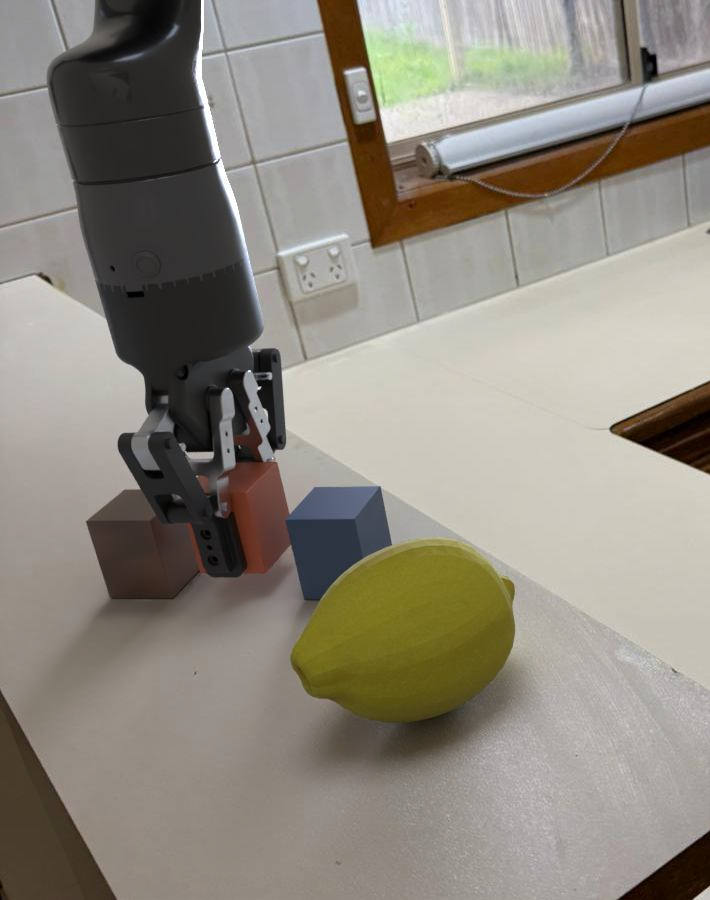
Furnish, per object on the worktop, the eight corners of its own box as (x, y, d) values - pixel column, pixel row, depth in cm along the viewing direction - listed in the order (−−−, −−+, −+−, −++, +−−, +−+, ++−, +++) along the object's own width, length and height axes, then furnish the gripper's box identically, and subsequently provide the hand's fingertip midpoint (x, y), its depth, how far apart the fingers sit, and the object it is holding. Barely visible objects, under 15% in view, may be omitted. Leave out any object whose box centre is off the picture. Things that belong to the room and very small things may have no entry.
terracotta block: (200, 574, 64) (177, 493, 62) (233, 539, 67) (213, 462, 65) (266, 574, 63) (245, 492, 61) (296, 538, 66) (277, 461, 64)
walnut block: (109, 598, 65) (85, 521, 63) (146, 563, 69) (124, 489, 67) (172, 598, 65) (150, 520, 63) (206, 563, 68) (186, 488, 66)
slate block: (303, 599, 63) (284, 519, 61) (331, 563, 67) (314, 486, 65) (371, 600, 62) (354, 519, 60) (396, 563, 66) (380, 485, 64)
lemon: (496, 627, 58) (474, 487, 55) (565, 703, 52) (545, 549, 49) (288, 705, 54) (250, 557, 51) (336, 797, 47) (296, 635, 44)
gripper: (175, 229, 65) (243, 498, 72) (18, 304, 52) (119, 621, 59) (297, 221, 64) (354, 496, 70) (165, 296, 51) (251, 623, 58)
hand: (246, 552), depth 65 cm, fingers closed on terracotta block, 4 cm apart
